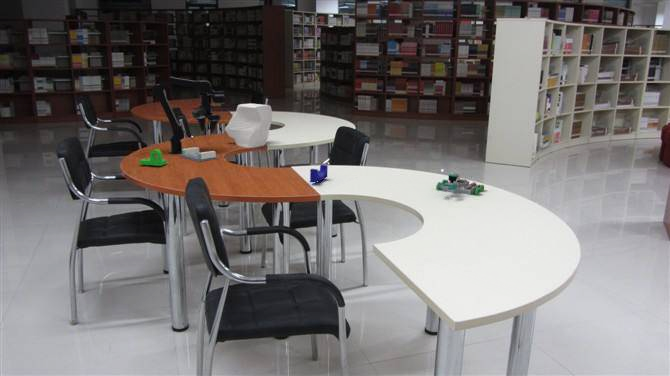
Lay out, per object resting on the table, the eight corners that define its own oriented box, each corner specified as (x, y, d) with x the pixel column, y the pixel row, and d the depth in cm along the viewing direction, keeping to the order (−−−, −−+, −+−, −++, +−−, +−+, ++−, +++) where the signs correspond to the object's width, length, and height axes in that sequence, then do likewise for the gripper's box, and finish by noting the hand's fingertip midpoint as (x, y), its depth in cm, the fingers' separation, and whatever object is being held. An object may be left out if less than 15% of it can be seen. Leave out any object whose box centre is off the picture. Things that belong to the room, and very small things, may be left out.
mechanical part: (166, 163, 280) (166, 148, 278) (160, 165, 274) (159, 150, 272) (146, 162, 283) (145, 146, 281) (139, 164, 277) (138, 148, 275)
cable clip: (318, 176, 257) (318, 164, 256) (327, 177, 256) (327, 165, 254) (307, 182, 247) (307, 168, 245) (316, 183, 245) (316, 170, 243)
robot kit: (424, 198, 223) (426, 176, 221) (445, 186, 244) (446, 166, 242) (469, 205, 214) (471, 182, 212) (486, 192, 235) (488, 171, 233)
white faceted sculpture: (251, 151, 317) (250, 107, 311) (223, 145, 335) (222, 103, 329) (279, 148, 332) (278, 105, 326) (251, 142, 350) (250, 101, 344)
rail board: (180, 156, 297) (179, 149, 296) (199, 154, 305) (198, 146, 304) (198, 161, 285) (198, 153, 284) (218, 159, 293) (218, 151, 292)
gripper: (184, 103, 305) (185, 130, 309) (203, 105, 293) (204, 134, 297) (201, 102, 313) (202, 129, 317) (220, 104, 301) (221, 132, 305)
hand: (207, 131), depth 309 cm, fingers open, 9 cm apart
